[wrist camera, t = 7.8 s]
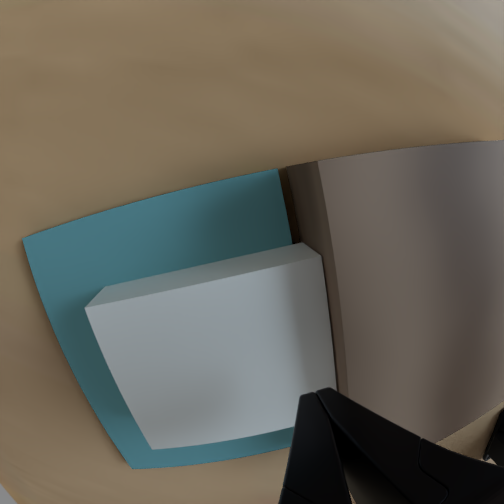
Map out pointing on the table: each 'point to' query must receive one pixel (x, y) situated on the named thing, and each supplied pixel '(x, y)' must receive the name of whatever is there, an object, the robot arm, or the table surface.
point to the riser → (412, 278)
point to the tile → (218, 345)
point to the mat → (145, 265)
